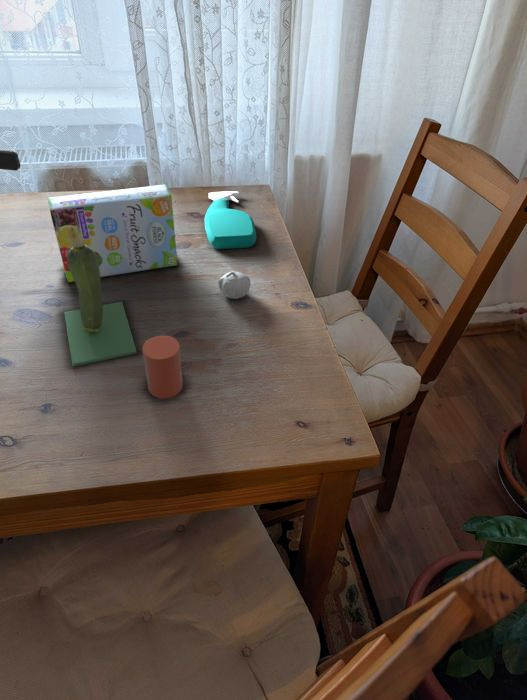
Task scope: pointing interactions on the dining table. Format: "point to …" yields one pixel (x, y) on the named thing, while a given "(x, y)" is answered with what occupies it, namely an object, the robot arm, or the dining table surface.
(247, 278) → the garlic
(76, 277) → the vegetable
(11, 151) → the robot arm
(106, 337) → the green mat
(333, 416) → the dining table surface
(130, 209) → the snack box
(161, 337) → the orange cylinder block
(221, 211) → the spray bottle
